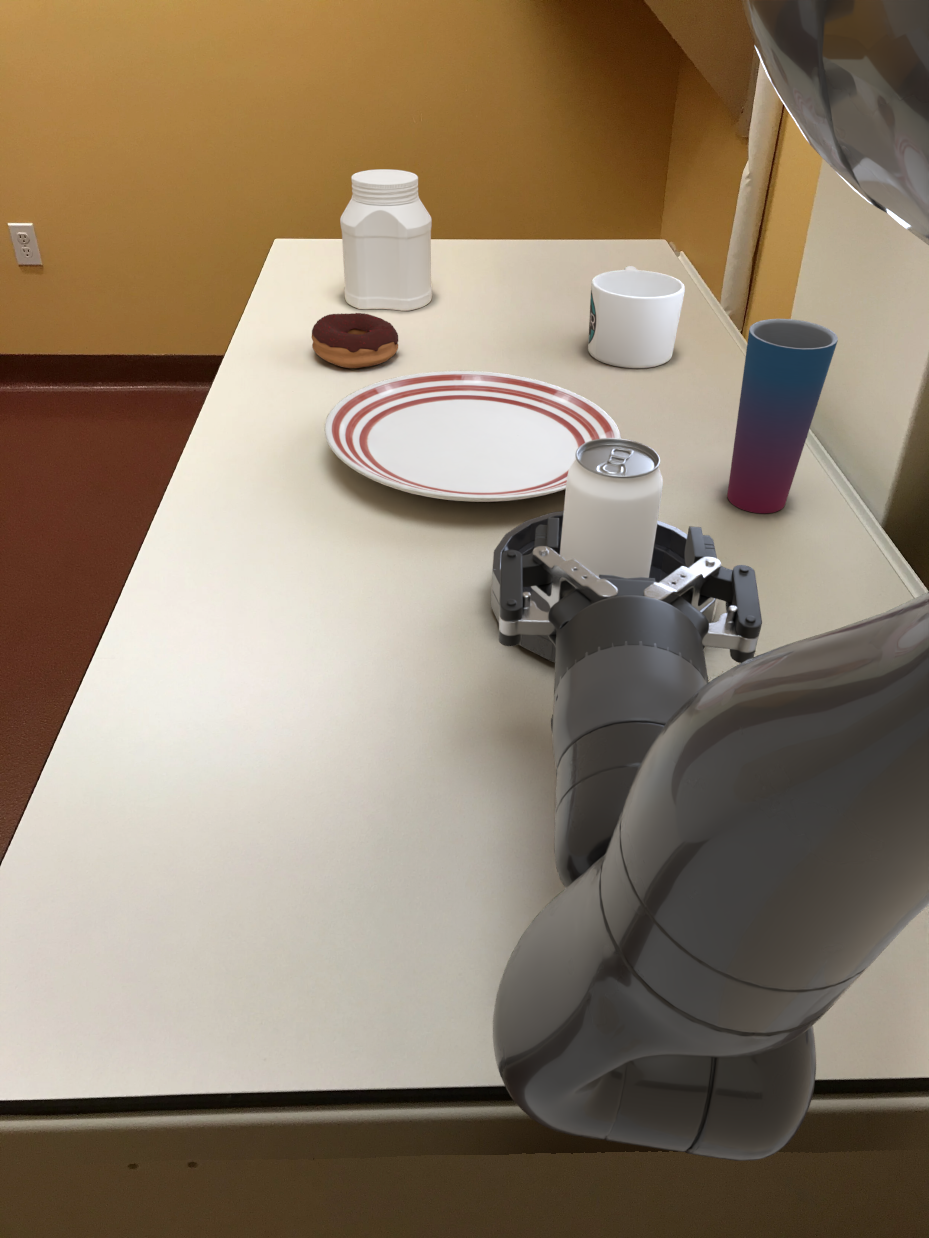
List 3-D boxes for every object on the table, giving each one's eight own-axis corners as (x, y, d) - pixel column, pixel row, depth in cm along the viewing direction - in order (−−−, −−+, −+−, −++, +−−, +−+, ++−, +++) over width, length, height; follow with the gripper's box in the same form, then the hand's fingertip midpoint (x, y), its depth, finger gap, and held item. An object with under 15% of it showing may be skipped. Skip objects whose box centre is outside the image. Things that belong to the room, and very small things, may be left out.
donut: (406, 368, 108) (405, 334, 105) (318, 375, 106) (315, 340, 103) (390, 337, 116) (389, 304, 113) (308, 343, 114) (305, 309, 111)
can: (544, 617, 69) (556, 468, 62) (569, 571, 74) (584, 428, 67) (632, 638, 67) (655, 487, 60) (652, 590, 72) (675, 445, 65)
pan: (615, 530, 80) (620, 490, 78) (758, 630, 69) (769, 587, 67) (450, 587, 73) (450, 544, 71) (581, 708, 62) (586, 662, 60)
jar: (339, 308, 123) (331, 183, 115) (351, 285, 131) (344, 166, 122) (428, 312, 123) (427, 187, 114) (434, 288, 131) (434, 169, 122)
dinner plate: (530, 380, 106) (532, 350, 104) (676, 490, 86) (682, 457, 84) (289, 422, 96) (286, 391, 94) (392, 558, 76) (391, 522, 74)
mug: (681, 371, 108) (692, 299, 104) (588, 369, 108) (595, 297, 104) (664, 329, 119) (673, 263, 114) (579, 327, 119) (585, 261, 115)
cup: (704, 503, 84) (736, 336, 75) (734, 474, 89) (767, 312, 80) (779, 527, 81) (822, 355, 72) (806, 495, 86) (849, 330, 77)
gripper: (800, 660, 43) (751, 487, 56) (485, 638, 44) (508, 473, 57) (767, 777, 48) (728, 592, 61) (482, 754, 49) (503, 577, 62)
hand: (621, 534), depth 59 cm, fingers open, 8 cm apart
